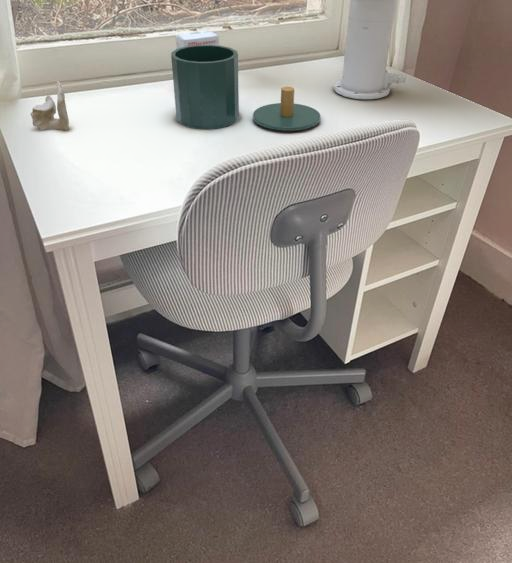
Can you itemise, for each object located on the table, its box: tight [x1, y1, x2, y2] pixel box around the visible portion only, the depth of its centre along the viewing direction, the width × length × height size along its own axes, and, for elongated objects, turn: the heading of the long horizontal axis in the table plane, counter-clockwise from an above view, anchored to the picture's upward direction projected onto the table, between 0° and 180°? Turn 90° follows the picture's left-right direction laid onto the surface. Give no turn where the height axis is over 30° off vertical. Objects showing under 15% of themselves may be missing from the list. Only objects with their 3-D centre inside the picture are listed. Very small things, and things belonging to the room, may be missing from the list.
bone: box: [30, 80, 70, 131], centre depth 103 cm, size 9×6×10 cm
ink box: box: [175, 29, 220, 50], centre depth 120 cm, size 9×5×12 cm, turn 120°
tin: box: [170, 44, 240, 130], centre depth 106 cm, size 13×13×12 cm
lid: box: [252, 86, 321, 131], centre depth 107 cm, size 14×14×6 cm
